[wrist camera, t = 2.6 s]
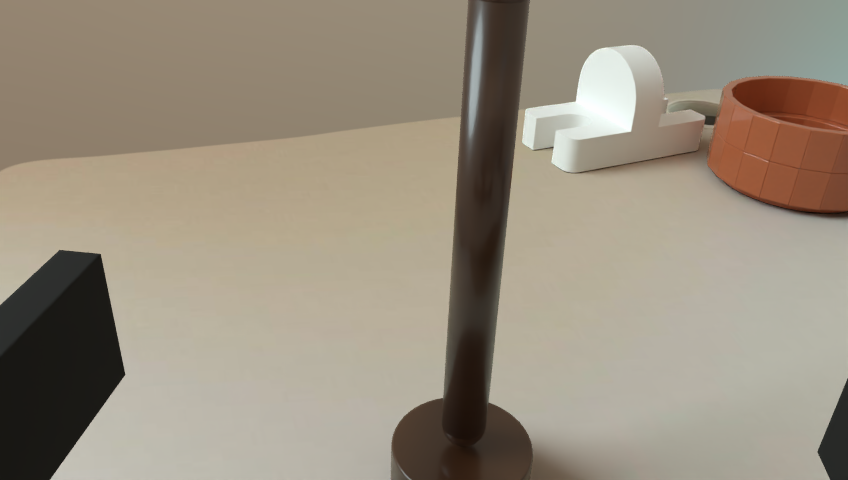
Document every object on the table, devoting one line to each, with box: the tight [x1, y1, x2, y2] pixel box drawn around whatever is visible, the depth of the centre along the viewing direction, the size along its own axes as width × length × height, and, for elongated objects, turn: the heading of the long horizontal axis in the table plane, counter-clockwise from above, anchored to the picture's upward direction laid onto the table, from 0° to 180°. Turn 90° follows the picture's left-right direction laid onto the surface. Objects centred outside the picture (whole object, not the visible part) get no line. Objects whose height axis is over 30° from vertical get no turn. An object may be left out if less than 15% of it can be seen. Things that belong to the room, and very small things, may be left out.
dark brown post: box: [391, 0, 533, 480], centre depth 24 cm, size 5×5×19 cm
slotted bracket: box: [522, 45, 705, 173], centre depth 58 cm, size 13×7×8 cm, turn 116°
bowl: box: [707, 76, 848, 213], centre depth 54 cm, size 12×12×6 cm
